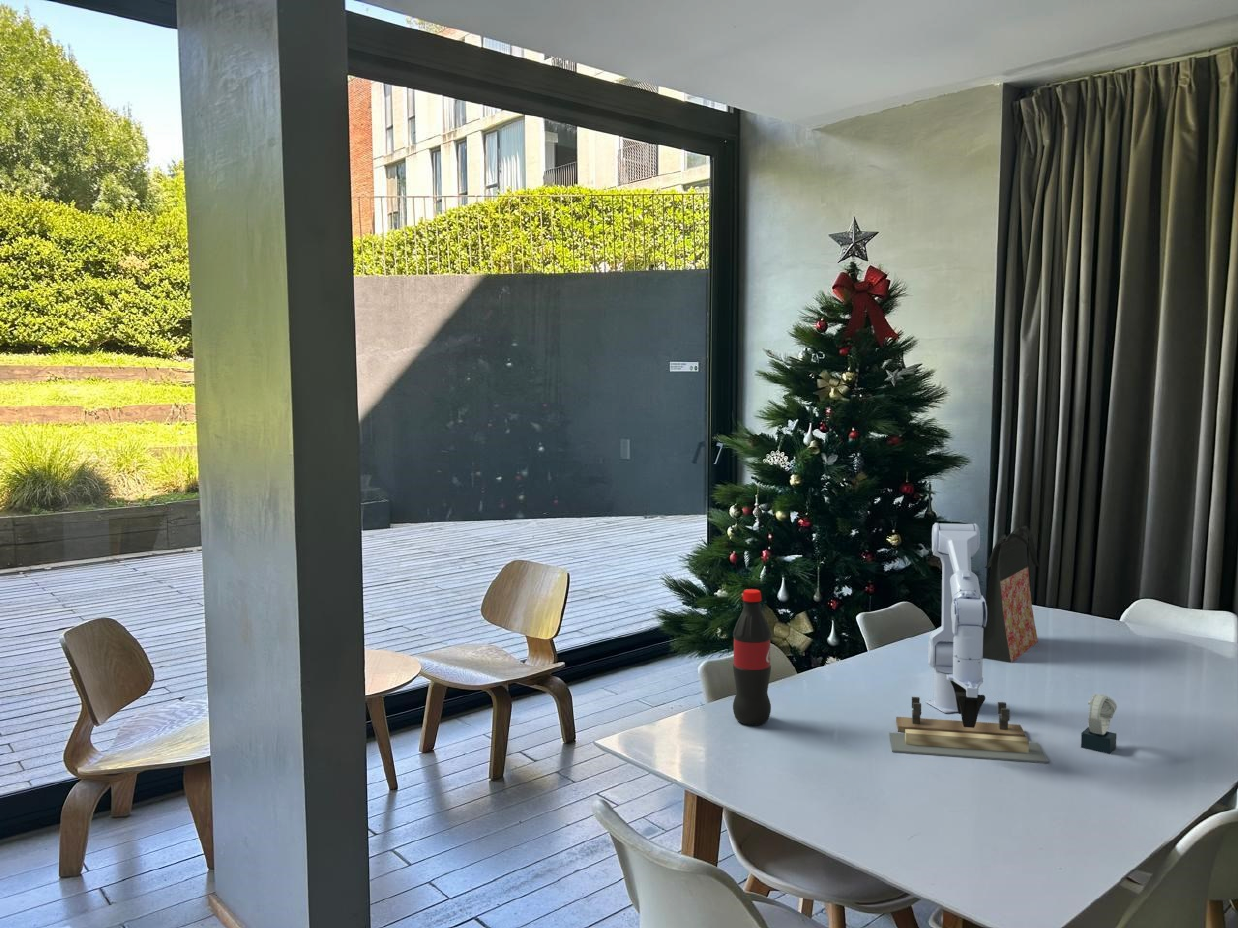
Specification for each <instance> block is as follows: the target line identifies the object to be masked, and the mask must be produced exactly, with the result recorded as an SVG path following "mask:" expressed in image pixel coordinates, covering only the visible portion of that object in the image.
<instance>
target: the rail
mask: <svg viewBox="0 0 1238 928" xmlns="http://www.w3.org/2000/svg"><path fill="white" fill-rule="evenodd" d="M904 734H905V743H906V744H909V745H923V746H937V747H951V748H965V749H979V750H993V751H1007V752H1021V753H1029V742H1030V741H1029V739H1028V737H1027V736H1026V737H1016V736H1001V735H986V734H972V733H957V732H942V731H928V730H913V729H905V732H904Z"/></svg>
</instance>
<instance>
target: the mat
mask: <svg viewBox="0 0 1238 928" xmlns="http://www.w3.org/2000/svg"><path fill="white" fill-rule="evenodd" d="M888 734H889V740H890V747H891V753H899V754H900V753H901V754H902V753H903V754H915V755H927V756H928V755H929V756H939V757H941V756H943V757H952V758H953V757H954V758H955V757H956V758H967V759H969V758H970V759H983V760H993V761H994V760H995V761H996V760H997V761H1009V762H1023V763H1024V762H1025V763H1036V764H1037V763H1039V764H1049V763H1050V762H1049V759H1048V757H1047V756H1046V754H1045V752H1044V751H1043V749H1042V747H1041V745H1040V743H1039V742H1034V741H1033V742H1032V741H1031V742H1030V741H1029V753H1021V752H1007V751H993V750H979V749H965V748H951V747H937V746H923V745H909V744H906V743H905V733H904V732H900V733H899V732H889V733H888Z"/></svg>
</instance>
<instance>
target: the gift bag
mask: <svg viewBox="0 0 1238 928" xmlns="http://www.w3.org/2000/svg"><path fill="white" fill-rule="evenodd" d="M1017 532H1019V534H1017ZM1028 551H1029V555H1030V559H1031V562H1032V564H1033V565H1034V566H1035V567H1037V568H1039V567H1040V566H1039V565H1040V564H1039V562H1038V557H1037V551H1036V548H1035V542H1034V539H1033V535H1032V533H1031V531H1030V529H1029V527H1028V526H1027V525H1023V526H1022V527H1019V526H1018V527H1016V528H1014V529H1013V530H1012V532H1010V533H1009V534H1007V535H1006V534H1003V535H1001V536H1000V538H999V539H998V540H997V541H996V544H994V546H993V548H992V552H991V554H990V556H989V559H988V562H987V565H986V566H985V567H983V568H985V569H989V568H990V570H989V578H988V585H987V592H986V599H985V602H986V606H987V622H986V626H985V627H984V626H983V623H982V627H983V659H987V660H993V661H999V662H1004V663H1010V664H1012V663H1013V662H1014V661H1015V660H1017V659H1018V658H1019V657H1020V656H1022V655H1023V654H1024V653H1026V652H1027V651H1028V650H1029V649H1031V648H1032V647H1034V646H1035V645H1036V644H1037V643H1038V642H1039V638H1038V634H1037V628H1036V621H1035V618H1034V611H1033V604H1032V596H1031V594H1032V593H1031V586H1030V575H1029V563H1028V562H1029V560H1028Z"/></svg>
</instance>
